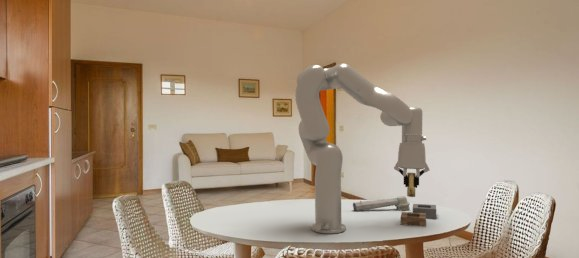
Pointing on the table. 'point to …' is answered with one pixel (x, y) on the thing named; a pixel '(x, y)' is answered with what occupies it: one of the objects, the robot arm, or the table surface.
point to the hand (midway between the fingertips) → (411, 186)
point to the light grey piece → (382, 204)
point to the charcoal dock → (425, 210)
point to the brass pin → (411, 184)
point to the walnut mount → (413, 219)
